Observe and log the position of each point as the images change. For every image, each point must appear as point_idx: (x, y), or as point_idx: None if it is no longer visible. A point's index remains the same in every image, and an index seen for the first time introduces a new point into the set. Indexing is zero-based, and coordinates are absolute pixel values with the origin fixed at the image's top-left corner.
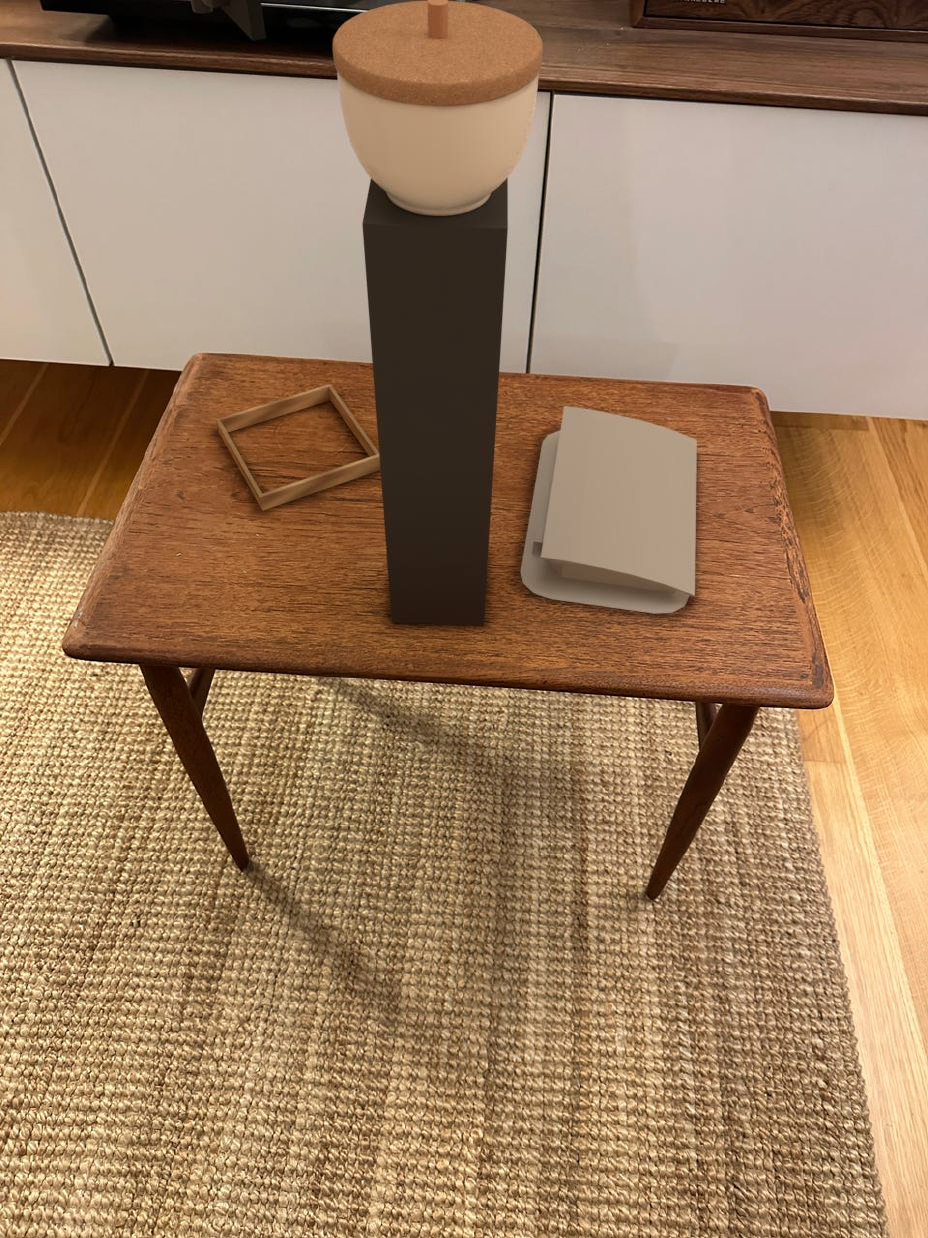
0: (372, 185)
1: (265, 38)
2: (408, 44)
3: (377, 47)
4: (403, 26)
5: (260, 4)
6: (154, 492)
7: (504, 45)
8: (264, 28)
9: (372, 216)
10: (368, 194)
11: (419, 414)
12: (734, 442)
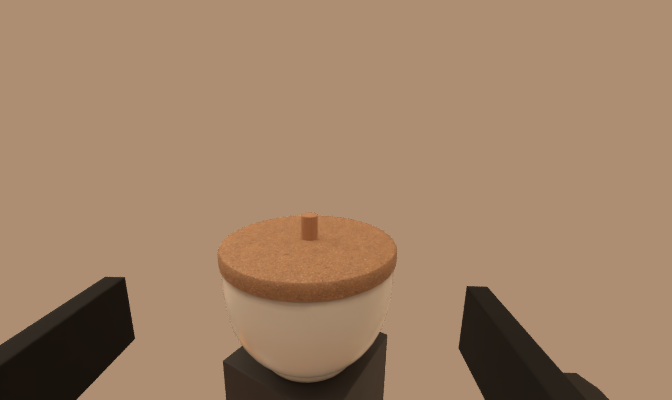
0: (359, 371)
1: (459, 348)
2: (340, 235)
3: (365, 237)
4: (326, 248)
5: (464, 312)
6: None
7: (279, 223)
8: (460, 337)
9: (376, 338)
10: (368, 362)
11: None
12: None
